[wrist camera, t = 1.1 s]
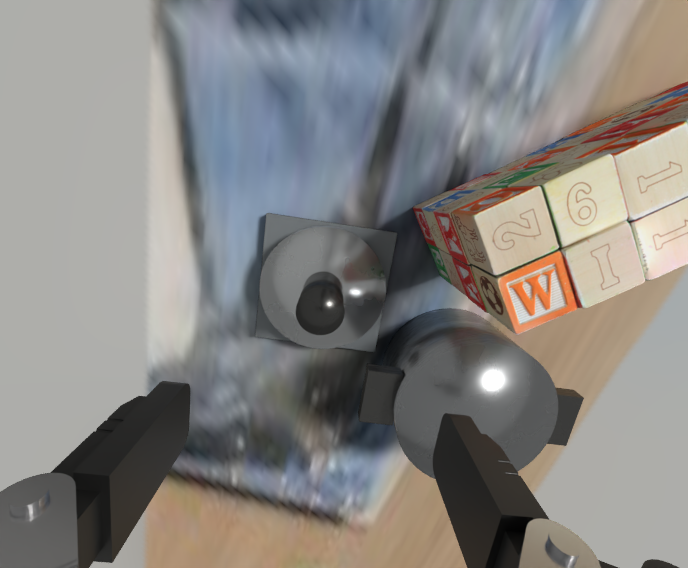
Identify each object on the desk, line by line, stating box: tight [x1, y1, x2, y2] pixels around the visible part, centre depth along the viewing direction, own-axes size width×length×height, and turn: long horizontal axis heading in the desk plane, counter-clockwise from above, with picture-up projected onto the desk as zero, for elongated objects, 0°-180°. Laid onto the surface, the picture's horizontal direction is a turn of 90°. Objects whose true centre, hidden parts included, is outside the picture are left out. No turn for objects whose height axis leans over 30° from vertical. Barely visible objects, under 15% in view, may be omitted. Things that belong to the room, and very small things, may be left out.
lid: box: [259, 226, 386, 349], centre depth 23 cm, size 10×10×6 cm
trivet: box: [255, 213, 397, 352], centre depth 27 cm, size 10×10×1 cm
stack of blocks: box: [413, 82, 688, 335], centre depth 20 cm, size 21×6×12 cm, turn 115°
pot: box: [358, 308, 584, 479], centre depth 26 cm, size 11×15×7 cm
